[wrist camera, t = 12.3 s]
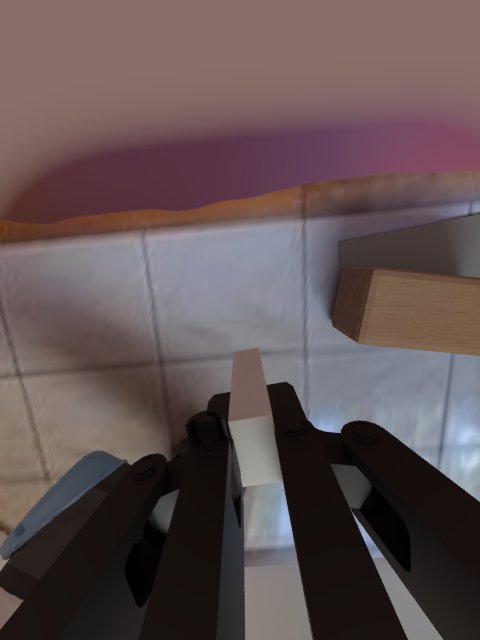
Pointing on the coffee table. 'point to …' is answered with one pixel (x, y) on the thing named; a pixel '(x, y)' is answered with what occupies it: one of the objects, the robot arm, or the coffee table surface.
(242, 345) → the coffee table surface
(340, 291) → the block
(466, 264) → the mat
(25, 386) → the coffee table surface
